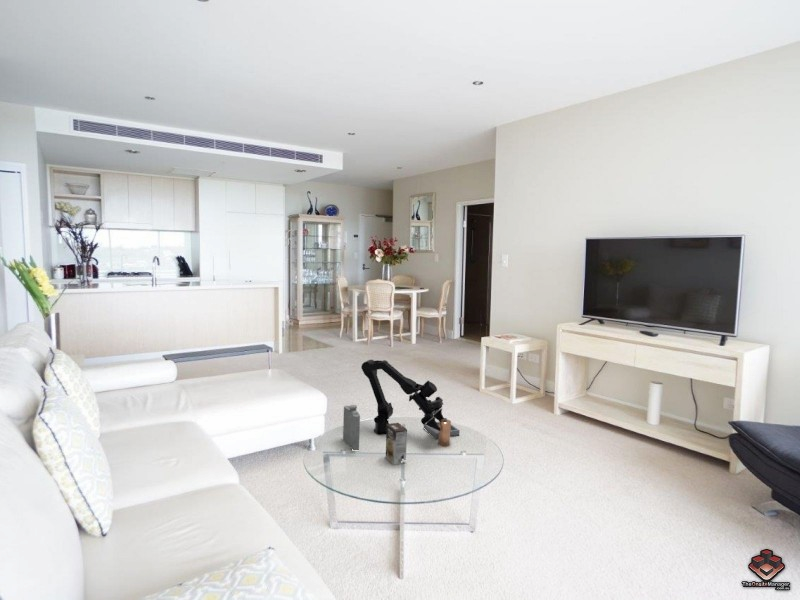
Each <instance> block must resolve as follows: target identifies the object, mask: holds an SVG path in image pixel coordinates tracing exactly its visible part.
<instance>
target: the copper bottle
mask: <svg viewBox="0 0 800 600" xmlns="http://www.w3.org/2000/svg"><path fill="white" fill-rule="evenodd" d="M438 422H439V427H440V429H441V430H440V431H439V436H438V439H437V440H438V441H437V445H438V446H440V447H443V448H445V447H449V446H450V445H451V444H450V443H451V437H450V429H451V425H452V421H451V420H450V419H448V418H447V417H444V419H441V420H438Z"/></svg>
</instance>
